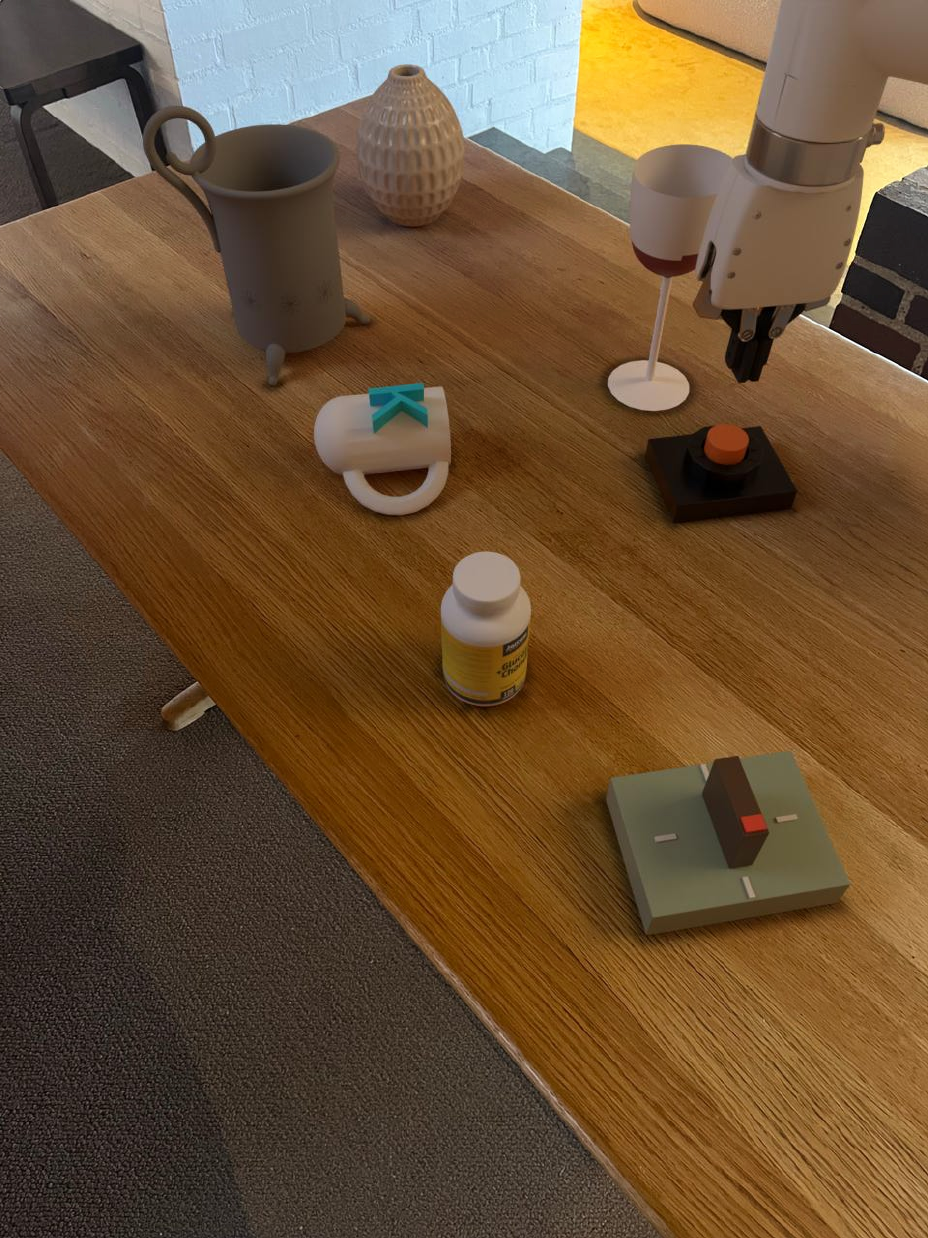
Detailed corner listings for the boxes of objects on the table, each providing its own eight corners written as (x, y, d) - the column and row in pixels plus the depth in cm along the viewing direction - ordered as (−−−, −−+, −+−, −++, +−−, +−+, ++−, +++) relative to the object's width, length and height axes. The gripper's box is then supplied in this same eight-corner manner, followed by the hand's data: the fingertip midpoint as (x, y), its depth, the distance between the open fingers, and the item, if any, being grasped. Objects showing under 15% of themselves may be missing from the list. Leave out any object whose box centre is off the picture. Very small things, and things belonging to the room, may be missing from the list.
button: (736, 437, 87) (740, 421, 85) (750, 463, 85) (755, 448, 83) (698, 441, 86) (701, 426, 85) (711, 468, 84) (715, 452, 83)
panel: (780, 771, 69) (791, 748, 67) (837, 903, 63) (852, 883, 60) (605, 799, 68) (610, 776, 65) (645, 936, 61) (653, 917, 59)
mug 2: (304, 372, 82) (442, 359, 84) (314, 422, 91) (438, 409, 92) (318, 498, 79) (461, 482, 81) (326, 537, 88) (455, 522, 89)
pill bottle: (487, 725, 72) (490, 628, 63) (425, 678, 74) (419, 578, 65) (543, 673, 75) (553, 573, 66) (481, 629, 77) (482, 528, 68)
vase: (341, 213, 119) (325, 69, 107) (418, 179, 125) (412, 38, 112) (408, 253, 113) (400, 105, 101) (486, 215, 119) (488, 71, 106)
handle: (701, 793, 65) (715, 757, 61) (723, 790, 65) (739, 753, 61) (728, 869, 61) (745, 835, 57) (752, 865, 61) (770, 831, 58)
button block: (755, 443, 92) (765, 410, 89) (791, 508, 86) (803, 475, 83) (644, 456, 91) (650, 423, 87) (673, 523, 85) (681, 490, 82)
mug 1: (350, 287, 109) (324, 46, 90) (391, 360, 100) (371, 111, 81) (185, 322, 105) (121, 77, 85) (213, 401, 96) (147, 149, 77)
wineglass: (587, 393, 97) (613, 178, 80) (632, 347, 102) (666, 134, 84) (665, 425, 93) (709, 208, 76) (708, 375, 98) (758, 161, 81)
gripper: (884, 114, 68) (810, 337, 82) (681, 129, 66) (641, 353, 80) (934, 164, 63) (846, 391, 77) (717, 181, 62) (668, 410, 76)
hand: (742, 371), depth 79 cm, fingers closed
